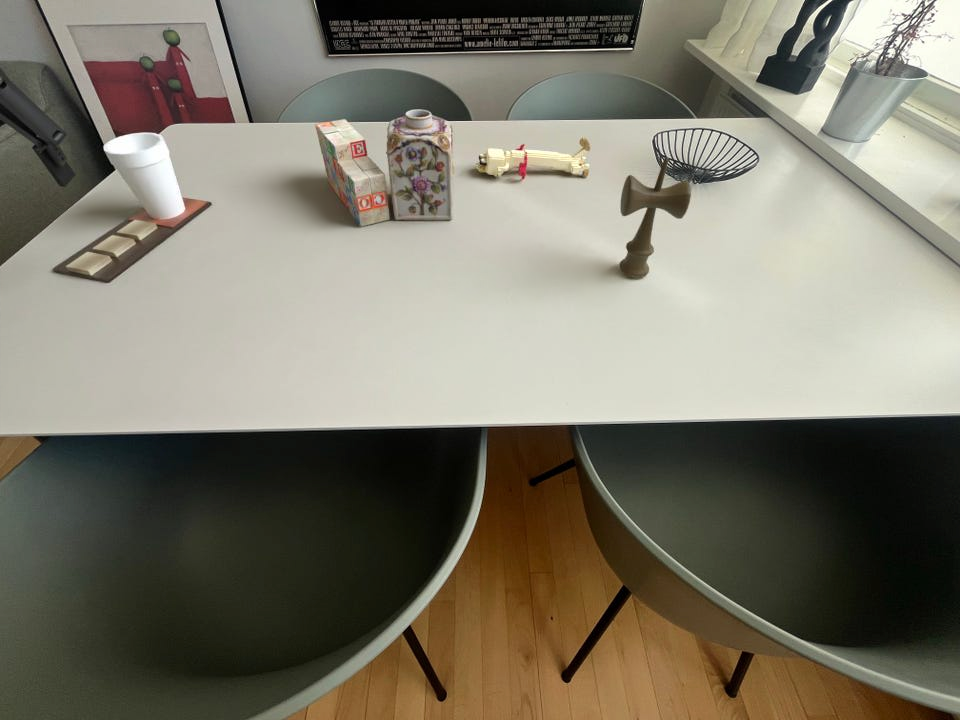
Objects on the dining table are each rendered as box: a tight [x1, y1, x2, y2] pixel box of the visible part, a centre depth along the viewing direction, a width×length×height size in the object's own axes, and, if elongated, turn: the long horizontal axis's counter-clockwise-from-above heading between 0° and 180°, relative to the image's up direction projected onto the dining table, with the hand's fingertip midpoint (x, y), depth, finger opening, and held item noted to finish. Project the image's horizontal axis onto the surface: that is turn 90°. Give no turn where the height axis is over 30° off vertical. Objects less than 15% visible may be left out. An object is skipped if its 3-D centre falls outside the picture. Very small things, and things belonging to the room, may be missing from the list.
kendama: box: [618, 156, 692, 278], centre depth 76 cm, size 6×10×20 cm, turn 83°
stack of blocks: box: [314, 118, 391, 227], centre depth 95 cm, size 21×6×12 cm, turn 29°
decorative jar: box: [385, 108, 455, 221], centre depth 91 cm, size 12×12×18 cm
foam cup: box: [102, 131, 185, 219], centre depth 89 cm, size 10×9×13 cm
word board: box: [52, 196, 213, 284], centre depth 88 cm, size 11×27×2 cm, turn 165°
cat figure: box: [475, 137, 591, 180], centre depth 106 cm, size 10×9×25 cm
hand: (18, 168), depth 69 cm, fingers open, 13 cm apart
